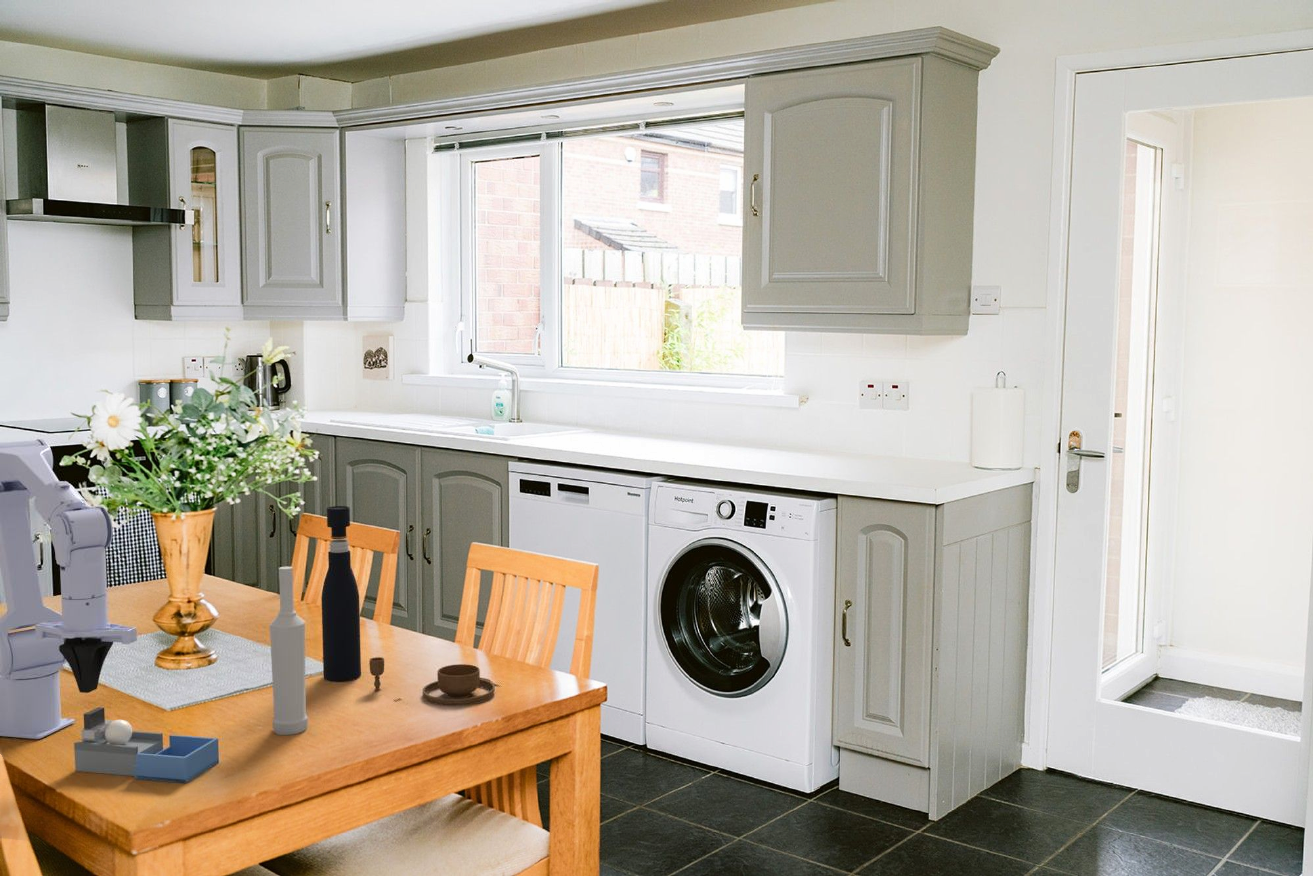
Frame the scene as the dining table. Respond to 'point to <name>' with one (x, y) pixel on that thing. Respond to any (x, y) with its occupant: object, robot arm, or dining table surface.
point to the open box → (178, 760)
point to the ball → (118, 732)
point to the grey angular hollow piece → (95, 726)
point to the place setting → (447, 683)
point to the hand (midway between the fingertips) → (88, 690)
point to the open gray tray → (116, 753)
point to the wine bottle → (340, 605)
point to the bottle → (288, 662)
